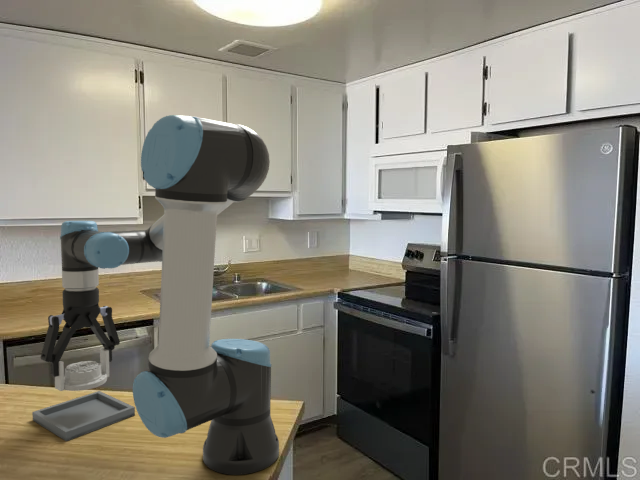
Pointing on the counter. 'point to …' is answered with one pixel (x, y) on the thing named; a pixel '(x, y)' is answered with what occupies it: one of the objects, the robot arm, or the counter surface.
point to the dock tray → (82, 415)
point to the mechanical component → (83, 376)
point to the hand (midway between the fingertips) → (83, 382)
